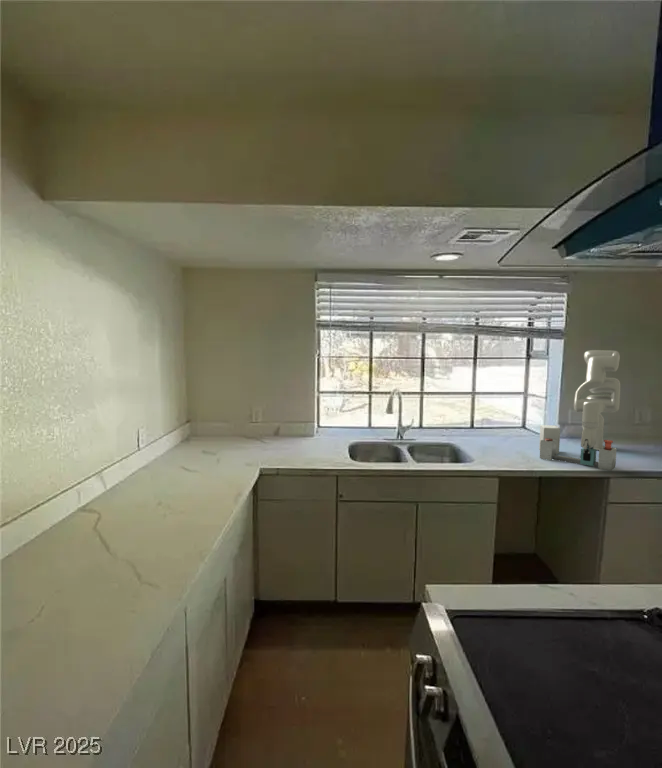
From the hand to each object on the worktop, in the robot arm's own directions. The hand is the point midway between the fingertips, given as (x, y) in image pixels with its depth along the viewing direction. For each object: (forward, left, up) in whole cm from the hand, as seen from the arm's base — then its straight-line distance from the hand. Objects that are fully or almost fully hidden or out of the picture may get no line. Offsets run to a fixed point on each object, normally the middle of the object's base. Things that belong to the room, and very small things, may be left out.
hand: (588, 459), depth 242 cm
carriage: (0, 0, -3) cm, 3 cm away
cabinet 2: (0, +9, -3) cm, 9 cm away
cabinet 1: (0, -20, -3) cm, 20 cm away
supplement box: (-14, -24, -3) cm, 28 cm away
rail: (0, -6, -3) cm, 6 cm away
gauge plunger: (0, +9, +7) cm, 11 cm away
